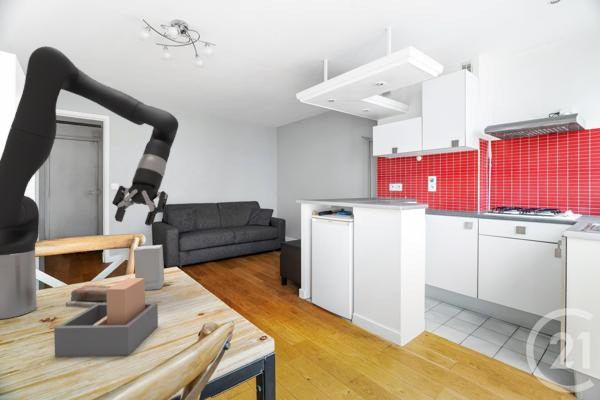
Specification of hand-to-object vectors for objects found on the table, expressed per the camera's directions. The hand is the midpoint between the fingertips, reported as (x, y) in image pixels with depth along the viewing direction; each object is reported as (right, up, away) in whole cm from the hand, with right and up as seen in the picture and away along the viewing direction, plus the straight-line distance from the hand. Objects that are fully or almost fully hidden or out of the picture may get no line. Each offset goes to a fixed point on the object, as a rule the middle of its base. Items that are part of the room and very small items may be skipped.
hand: (133, 223), depth 81 cm
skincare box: (-6, -25, +20) cm, 32 cm away
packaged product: (-13, -26, +7) cm, 30 cm away
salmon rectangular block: (+8, -25, -15) cm, 30 cm away
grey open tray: (+4, -26, -16) cm, 30 cm away
